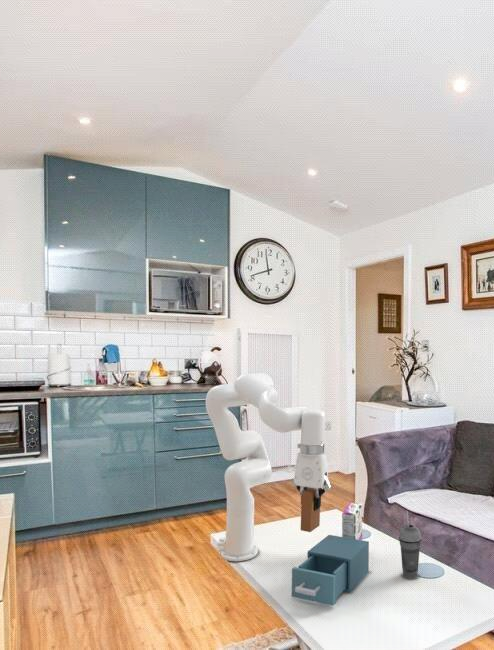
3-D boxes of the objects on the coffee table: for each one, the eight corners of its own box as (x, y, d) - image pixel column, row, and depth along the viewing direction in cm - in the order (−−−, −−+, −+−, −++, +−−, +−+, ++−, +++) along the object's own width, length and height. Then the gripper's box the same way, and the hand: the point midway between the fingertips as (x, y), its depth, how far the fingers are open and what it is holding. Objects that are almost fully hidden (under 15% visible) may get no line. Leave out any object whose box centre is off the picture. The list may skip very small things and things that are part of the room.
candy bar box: (348, 549, 176) (349, 502, 177) (362, 550, 175) (362, 503, 176) (341, 562, 165) (341, 512, 166) (355, 564, 164) (356, 513, 165)
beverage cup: (415, 583, 151) (415, 516, 152) (394, 577, 155) (394, 512, 156) (425, 574, 157) (425, 510, 159) (405, 568, 161) (405, 506, 162)
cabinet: (350, 592, 145) (350, 559, 146) (307, 583, 150) (307, 551, 151) (368, 572, 158) (368, 541, 159) (328, 564, 164) (328, 534, 165)
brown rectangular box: (300, 530, 151) (301, 490, 152) (309, 523, 157) (311, 485, 158) (310, 532, 150) (311, 492, 151) (319, 525, 156) (320, 487, 156)
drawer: (325, 614, 132) (326, 584, 132) (283, 604, 137) (283, 575, 137) (352, 584, 148) (353, 557, 149) (313, 576, 153) (314, 550, 154)
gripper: (283, 448, 155) (281, 507, 154) (330, 454, 148) (328, 516, 147) (296, 444, 162) (294, 500, 161) (341, 449, 155) (339, 508, 154)
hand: (310, 507), depth 154 cm, fingers closed on brown rectangular box, 3 cm apart
